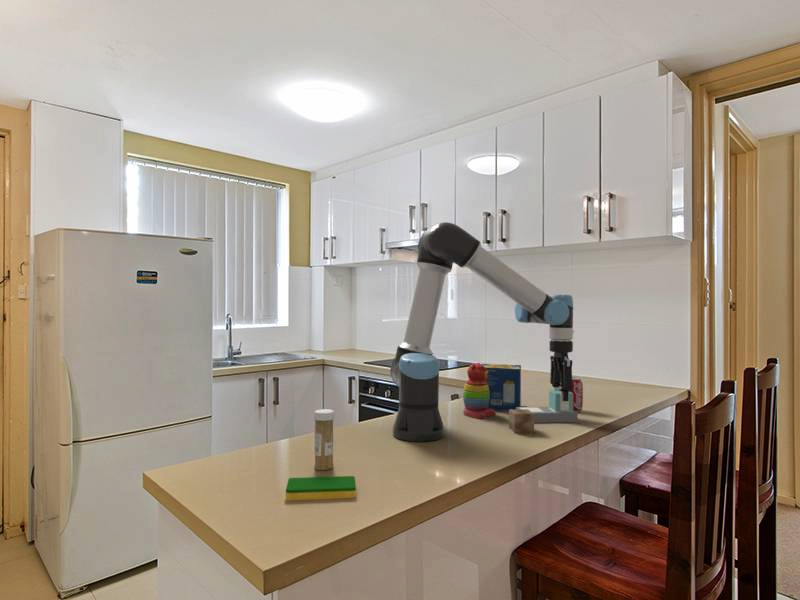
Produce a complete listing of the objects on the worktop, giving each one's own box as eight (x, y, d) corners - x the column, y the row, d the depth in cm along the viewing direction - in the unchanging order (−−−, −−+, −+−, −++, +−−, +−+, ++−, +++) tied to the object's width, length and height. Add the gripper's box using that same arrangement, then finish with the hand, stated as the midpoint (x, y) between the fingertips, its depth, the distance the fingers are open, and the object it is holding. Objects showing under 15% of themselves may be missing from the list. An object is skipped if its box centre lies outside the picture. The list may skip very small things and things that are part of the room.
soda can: (584, 410, 182) (584, 377, 182) (580, 414, 176) (580, 380, 176) (564, 407, 186) (565, 375, 186) (559, 411, 180) (560, 378, 180)
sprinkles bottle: (334, 470, 116) (334, 412, 116) (314, 471, 115) (315, 413, 115) (332, 463, 120) (333, 408, 120) (313, 465, 119) (313, 408, 119)
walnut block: (514, 433, 149) (514, 413, 149) (508, 428, 155) (509, 409, 155) (534, 433, 150) (534, 413, 150) (527, 428, 156) (528, 409, 156)
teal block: (555, 411, 165) (555, 393, 165) (549, 407, 171) (549, 390, 171) (573, 411, 166) (573, 393, 166) (566, 407, 172) (566, 390, 172)
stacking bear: (482, 419, 167) (483, 366, 167) (456, 415, 173) (457, 363, 173) (497, 413, 175) (497, 363, 175) (471, 409, 181) (472, 361, 181)
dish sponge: (355, 499, 100) (355, 487, 100) (285, 502, 98) (285, 490, 98) (354, 486, 107) (354, 475, 107) (288, 488, 105) (289, 477, 105)
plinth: (523, 422, 163) (523, 412, 163) (515, 415, 172) (515, 406, 172) (577, 422, 164) (577, 412, 164) (566, 415, 173) (566, 406, 173)
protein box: (480, 403, 194) (480, 363, 194) (521, 405, 190) (521, 364, 190) (477, 408, 184) (477, 366, 184) (520, 411, 180) (520, 368, 180)
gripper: (583, 342, 159) (583, 414, 159) (561, 337, 178) (561, 402, 178) (560, 342, 159) (560, 414, 159) (540, 337, 178) (540, 402, 178)
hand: (560, 408), depth 169 cm, fingers closed on teal block, 6 cm apart
